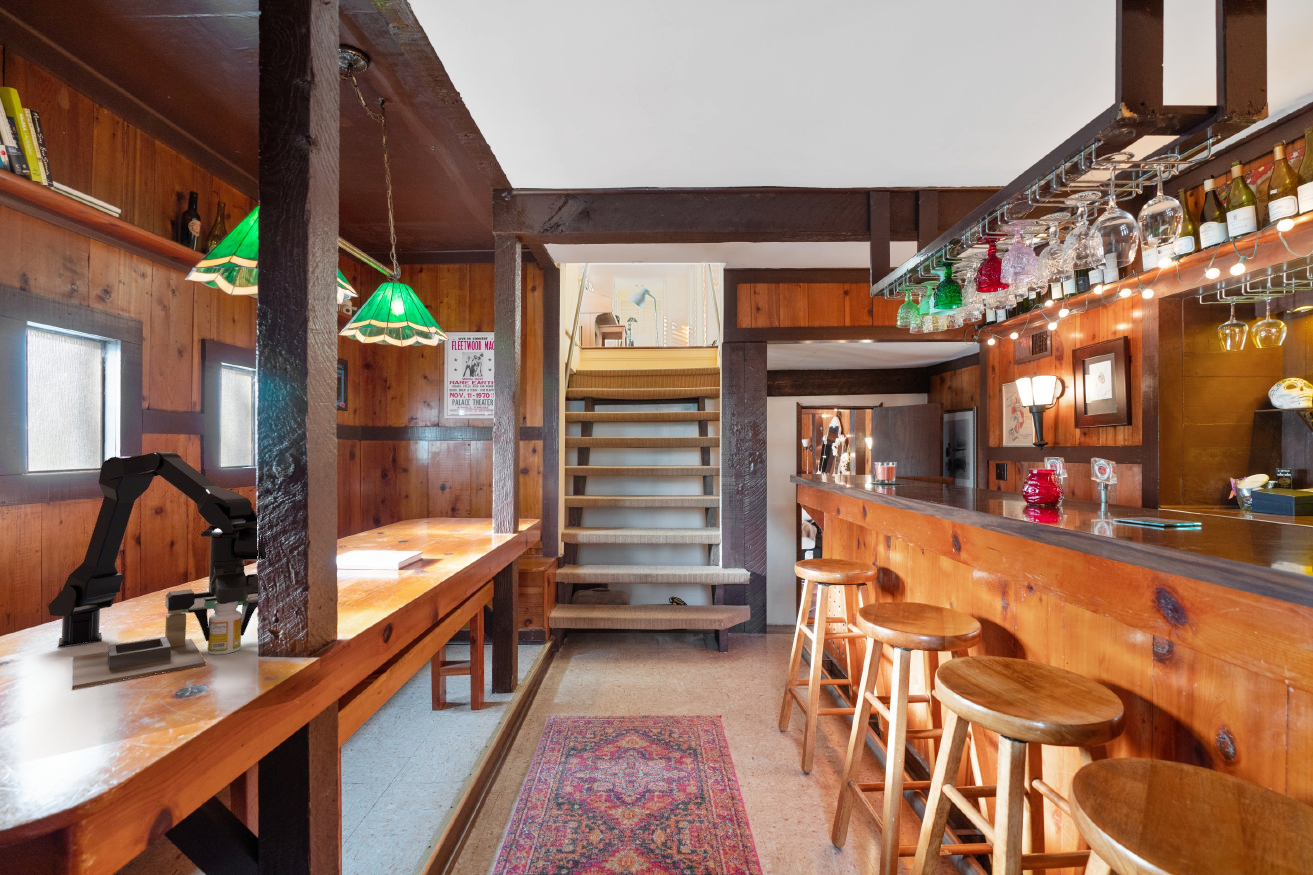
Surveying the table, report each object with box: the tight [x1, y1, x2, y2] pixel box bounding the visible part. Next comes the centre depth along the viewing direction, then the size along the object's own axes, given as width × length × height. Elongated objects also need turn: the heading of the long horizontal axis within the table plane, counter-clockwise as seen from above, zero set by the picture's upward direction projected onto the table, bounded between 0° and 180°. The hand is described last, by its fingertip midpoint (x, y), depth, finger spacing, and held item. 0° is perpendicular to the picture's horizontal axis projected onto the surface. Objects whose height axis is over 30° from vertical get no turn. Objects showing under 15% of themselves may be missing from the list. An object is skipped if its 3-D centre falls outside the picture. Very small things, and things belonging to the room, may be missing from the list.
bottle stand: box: [72, 612, 206, 690], centre depth 116 cm, size 20×18×7 cm
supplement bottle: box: [207, 601, 242, 655], centre depth 124 cm, size 5×5×10 cm
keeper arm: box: [167, 595, 243, 614], centre depth 129 cm, size 13×3×3 cm, turn 133°
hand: (224, 637), depth 123 cm, fingers closed on supplement bottle, 5 cm apart
